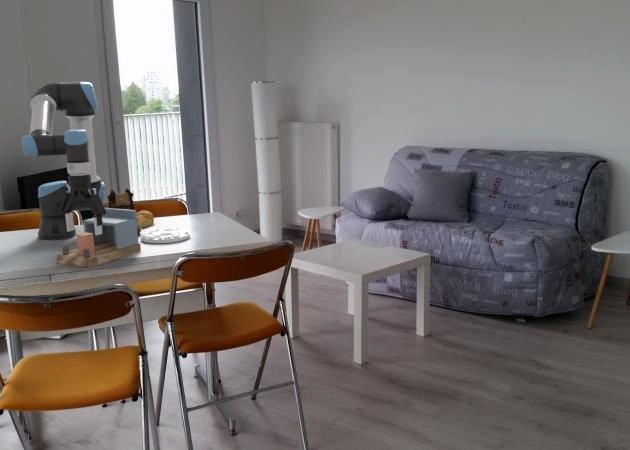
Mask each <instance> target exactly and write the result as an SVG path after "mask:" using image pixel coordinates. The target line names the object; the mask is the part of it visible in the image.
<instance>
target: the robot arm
mask: <svg viewBox="0 0 630 450" xmlns="http://www.w3.org/2000/svg"><path fill="white" fill-rule="evenodd" d="M29 106H30V109H31V118H30V119H31V120H30V128H29V134H27V135H23V136H22V137H21V147H22V153H23V155H24V156H26V157H35V158H36V157H45V156H46V157H47V156H65V158H66V169H67V174H69V175H68V176H67V180H68V182H67V181H66V180H58V181H53V182H47V183H43V184H41V185H40V186H38V189H37V191H38V192H37V193H38V196H37V198H38V203H39V213H40V222H39V228H38V231H37V237H38V239H39V240H43V241H44V240H45V241H47V240H48V241H49V240H50V241H51V240H52V241H53V240H55V241H56V240H64V239H69V238H72V237H76V235H77V229H76V227H75V223H74V212H77V211H78V212H79V211H91V212H92V214H93V215H94V216H93V218H94V227H95V235H99V234H102V224H103V222H102V216H103V215H105V214H106V210H105V208H106V207H105V205H104V203H105V201H104V200H105V182H103V181H102V180H101V179H102V178H101V177H100V176H99V175H97V163H96V155H95V154H96V153H95V143H94V133H93V132H94V131H93V122H92V121H93V118H94V117H95V116H96V112H97V111H99V106H98V100H97V97H96V92H95V87H94V86H93V84H92V83H91V82H88V81H65V82H63V81H62V82H59V81H53V82H48V83H45V84H44V85H42V86H40V87H39V88H37V89H36V90H35V92H34V93H33V95H32V96H31V98H30V103H29ZM56 112H64V113H65V115H64V116H65V118H67V119H69V125H70V129H68V130H65V131H64V132H63V133H60V134H58V133H57V134H53V127H54V126H53V125H54V123H53V122H54V114H55V113H56Z"/></svg>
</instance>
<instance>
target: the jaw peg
mask: <svg viewBox="0 0 630 450" xmlns="http://www.w3.org/2000/svg"><path fill="white" fill-rule="evenodd" d="M75 237H76V245H77V249H78V254H80V255H84V254H83V249H84V248H89V254H92V253H95V251H94V240H93V233H86V232H85V233H84V232H80V233H76V235H75Z"/></svg>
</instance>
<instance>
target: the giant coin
mask: <svg viewBox="0 0 630 450" xmlns="http://www.w3.org/2000/svg"><path fill="white" fill-rule="evenodd" d="M189 238H190V231H188V230H185V229H179V227H172V228H171V227H164V228H163V229H160V228H155V229H149V230H147V231H143V232H142V233H140V241H142V242H145V243H146V244H169V243H177V242H182V241H185V240H187V239H189Z"/></svg>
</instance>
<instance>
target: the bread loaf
mask: <svg viewBox="0 0 630 450" xmlns="http://www.w3.org/2000/svg"><path fill="white" fill-rule="evenodd" d="M136 217H137V226H138V227H140V228H141V229H143V228H147V227H150V226H153V225H154V224H155V223H154V222H155V218H154V215H153V213H152V212H150V211H149V210H145V209H143V210H140V211H136Z"/></svg>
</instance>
